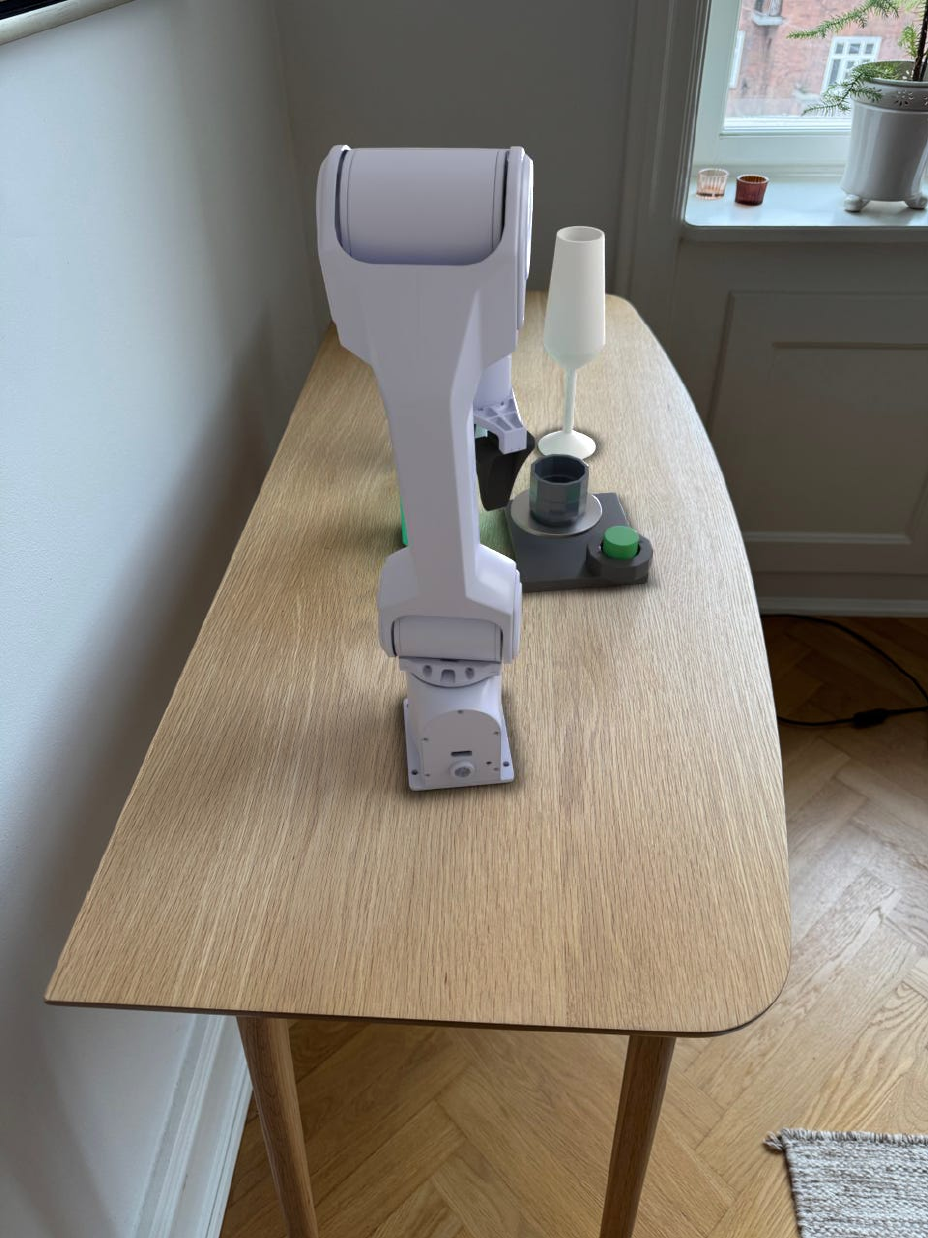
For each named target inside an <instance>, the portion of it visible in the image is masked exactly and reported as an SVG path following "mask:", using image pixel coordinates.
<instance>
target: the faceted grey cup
mask: <svg viewBox="0 0 928 1238" xmlns="http://www.w3.org/2000/svg"><path fill="white" fill-rule="evenodd" d="M529 470H530V472H529V488H530V492H529V507H530V508H531V509H532V510H533V512H534V513H535V514H536V515H537V516H539V517H540V518H542V519H544V520H547V521H552V522H565V521H570V520H572V519H575V518H576V517H578V516H579V515H580V514H581V513H582V512H583V511H584V510H585V509H586V503H587V492H589V481H590V480H589V478H590V465H588V464H587V463H586V462H585V461H584V459H580V458H577V457H574V456H571V455H567V454H550V455H543V456H540V457H538V458H537V459H535V460H534V461H533V462H532V463H530V468H529Z"/></svg>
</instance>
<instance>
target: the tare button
mask: <svg viewBox="0 0 928 1238" xmlns="http://www.w3.org/2000/svg"><path fill="white" fill-rule="evenodd" d="M638 539H639V536H638V534H637V531H636V530H635V529H633V528H631V527H630V528H629V527H625V526H615V527H611V528H609V529H608V530H606V532H605V534H604V543H603V552H604V553H605V555H606V556H608V557H610V558H614V559H618V560H623V559H631V558H633V557H634V556H635V555H636V553H637V547H638Z"/></svg>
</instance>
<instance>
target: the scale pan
mask: <svg viewBox="0 0 928 1238" xmlns="http://www.w3.org/2000/svg"><path fill="white" fill-rule="evenodd" d="M529 492H530V487H528V488H526V489H524V490H522V491H520V492H519V493H518V494H517V495H516V496H515V497H514V498H513V499H512V500H513V502H512V505H511V515H512V518H513V520H514V521H515V523H516V524H517V525H518V526H519V527H520V528H522V529H523V530H525V531H527V532H529V533H531V534H534V535H537V536H540V537H545V538H554V539H563V538H572V537H576V536H580V535H583V534H585V533H587V532H589V531H591V530H592V529H593V528H595V527H596V526H597V524H598V523H599V521H600V519H601V515H602V508H601V505H600V503H599V501H598V500H597V498H596V497H594V496H593V495H592V494H593V493H591V492H589V491H587V503H586V509H585V510H584V511H583V512H582V513H581V514H580V515H579V516H578V517H576V518H575V519H572V520H570V521H565V522H552V521H547V520H544V519H542V518H540V517H539V516H537V515H536V514H535V513H534V512H533V510H532V509H531V508H530V507H529Z"/></svg>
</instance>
